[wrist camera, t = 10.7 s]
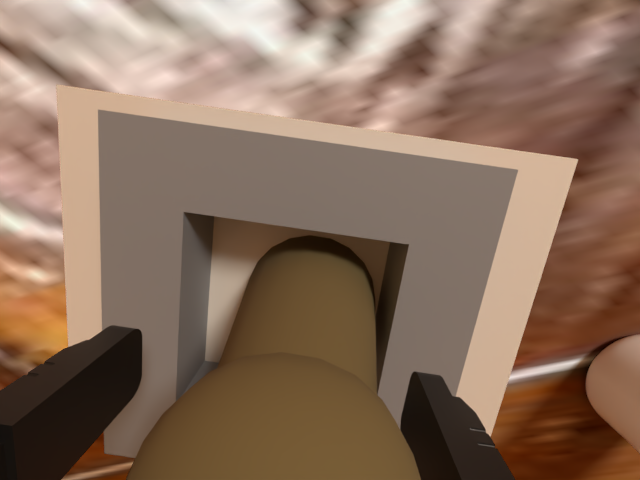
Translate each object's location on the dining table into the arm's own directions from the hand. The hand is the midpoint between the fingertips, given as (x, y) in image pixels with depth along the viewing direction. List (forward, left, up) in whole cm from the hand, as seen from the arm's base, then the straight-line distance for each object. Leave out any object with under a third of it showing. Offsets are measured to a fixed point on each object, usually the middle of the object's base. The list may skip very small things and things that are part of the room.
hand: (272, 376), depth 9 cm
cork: (-1, 0, -6) cm, 6 cm away
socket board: (0, 0, -7) cm, 7 cm away
